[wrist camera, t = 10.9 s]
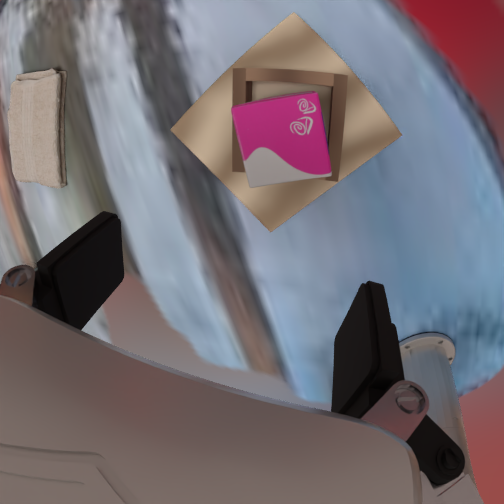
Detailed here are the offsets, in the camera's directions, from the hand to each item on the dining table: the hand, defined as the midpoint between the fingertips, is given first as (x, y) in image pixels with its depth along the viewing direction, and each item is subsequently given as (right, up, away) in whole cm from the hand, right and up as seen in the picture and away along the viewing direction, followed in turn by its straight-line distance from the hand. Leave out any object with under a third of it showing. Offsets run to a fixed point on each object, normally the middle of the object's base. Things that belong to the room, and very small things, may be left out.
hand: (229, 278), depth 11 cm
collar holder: (+5, +14, +18) cm, 23 cm away
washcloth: (-30, +19, +23) cm, 43 cm away
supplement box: (+5, +14, +17) cm, 22 cm away
